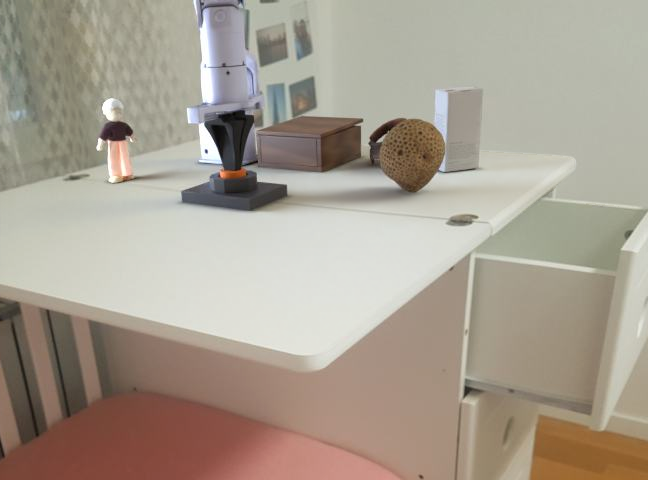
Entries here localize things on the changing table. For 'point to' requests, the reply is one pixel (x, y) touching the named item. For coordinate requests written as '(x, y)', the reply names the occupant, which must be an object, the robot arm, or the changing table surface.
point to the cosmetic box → (459, 126)
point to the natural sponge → (412, 153)
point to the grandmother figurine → (116, 142)
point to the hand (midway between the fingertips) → (232, 170)
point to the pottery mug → (378, 134)
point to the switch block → (235, 192)
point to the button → (232, 173)
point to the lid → (310, 126)
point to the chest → (309, 150)
